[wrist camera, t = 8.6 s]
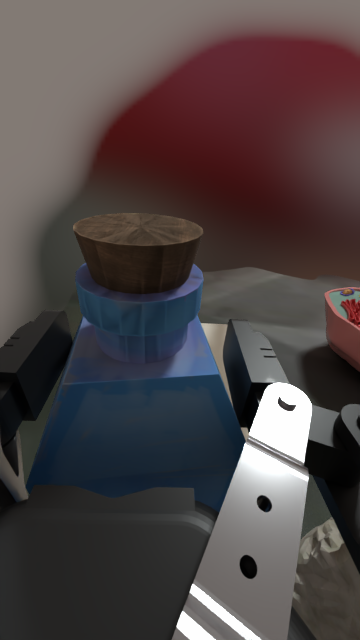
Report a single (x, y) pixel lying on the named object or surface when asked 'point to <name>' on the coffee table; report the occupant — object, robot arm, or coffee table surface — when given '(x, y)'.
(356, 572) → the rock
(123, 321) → the perfume bottle
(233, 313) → the coffee table surface
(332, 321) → the cell model
